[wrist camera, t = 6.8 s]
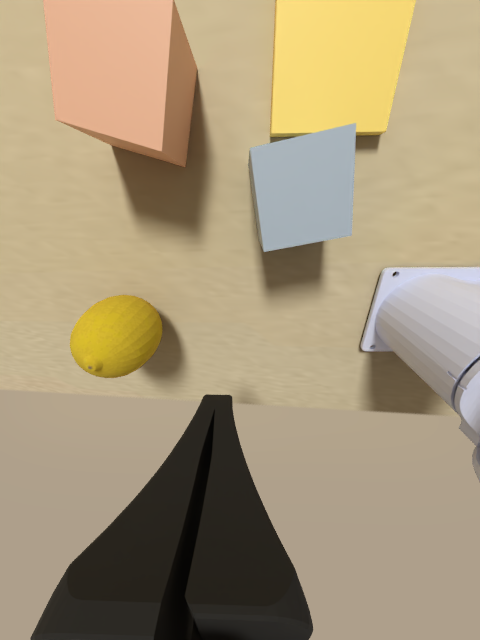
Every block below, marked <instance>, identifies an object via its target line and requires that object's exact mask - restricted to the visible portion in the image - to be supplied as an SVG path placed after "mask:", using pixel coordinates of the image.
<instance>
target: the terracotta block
mask: <svg viewBox="0 0 480 640" xmlns="http://www.w3.org/2000/svg"><path fill="white" fill-rule="evenodd" d="M43 2H44V12H45V22H46V32H47V42H48V52H49V62H50V72H51V82H52V92H53V102H54V111H55V120H57V121H60V122H62V123H64V124H66V125H68V126H70V127H73V128H75V129H77V130H79V131H81V132H84V133H86V134H88V135H90V136H92V137H94V138H97V139H99V140H101V141H103V142H105V143H108V144H110V145H112V146H115V147H119V148H122V149H126V150H129V151H132V152H136V153H139V154H142V155H146V156H149V157H152V158H156V159H159V160H163V161H166V162H169V163H173V164H176V165H179V166H183V167H186V160H187V151H188V143H189V134H190V126H191V117H192V109H193V100H194V92H195V83H196V74H197V66H196V63H195V60H194V57H193V54H192V52H191V49H190V46H189V43H188V40H187V37H186V34H185V31H184V28H183V25H182V22H181V20H180V17H179V14H178V11H177V8H176V5H175V2H174V0H43Z"/></svg>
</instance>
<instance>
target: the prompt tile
mask: <svg viewBox="0 0 480 640" xmlns="http://www.w3.org/2000/svg"><path fill="white" fill-rule="evenodd" d="M415 2H416V0H276V2H275V26H274V51H273V75H272V99H271V124H270V137H298V136H303V135H307V134H311V133H315V132H320V131H324V130H328V129H332V128H336V127H341V126H345V125H349V124H353V123H356V136H359V135H380V134H382V133H384V132H386V129H387V124H388V120H389V116H390V111H391V107H392V102H393V98H394V94H395V89H396V85H397V80H398V76H399V72H400V67H401V63H402V59H403V54H404V50H405V45H406V41H407V37H408V32H409V28H410V24H411V19H412V15H413V10H414V6H415Z"/></svg>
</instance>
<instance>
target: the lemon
mask: <svg viewBox="0 0 480 640" xmlns="http://www.w3.org/2000/svg"><path fill="white" fill-rule="evenodd" d="M161 336H162V322H161V319H160V316H159V314H158V312H157V311H156V309H155V308H154V307H153V306H152V305H151V304H150V303H148V302H147V301H145V300H143V299H141V298H138V297H135V296H129V295H119V296H113V297H109V298H107V299H104V300H102V301H100V302H98V303H96V304H94V305H93V306H92V307H91V308H90V309H88V310H87V311H86V312H85V313H84V314H83V315H82V316H81V317H80V319H79V320H78V321H77V323H76V325H75V327H74V329H73V331H72V334H71V339H70V348H71V353H72V356H73V357H74V359H75V361H76V363H77V364H78V365H79V366H80V367H81V368H82V369H83V370H85V371H86V372H88V373H90V374H92V375H95V376H98V377H104V378H116V377H121V376H125V375H128V374H129V373H131V372H133V371H135V370H137V369H138V368H140V367H141V366H142V365H143V364H145V363H146V362H147V361H148V360H149V359H150V358H151V356H152V355H153V354H154V353H155V351H156V349H157V347H158V345H159V343H160V341H161Z"/></svg>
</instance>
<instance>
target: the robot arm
mask: <svg viewBox="0 0 480 640" xmlns="http://www.w3.org/2000/svg"><path fill="white" fill-rule="evenodd" d="M394 272H396V275H395V276H392V275H393V273H394ZM372 345H373V346H372ZM370 346H372V347H370ZM360 347H361V349H362V350H363V351H394V352H395V353H396V354H397V355H398V356H399V357H400V358H401V359H402V360H403V361H404V362H405V363H406V364H407V365H408V366H409V367H410V368H411V369H412V370H413V371H414V372H415V373H416V374H417V375H418V376H419V377H420V378H421V379H423V380H424V381H425V382H426V383H427V384H428V385H429V386H430V387H431V388H432V389H433V390H434V391H435V392H436V393H437V394H438V395H439V396H440V397H441V398H442V399H443V400H444V401H445V402H446V403H447V404H448V405H449V406H450V407H451V408H452V409H453V410H454V411H455V412H457V413H458V414H459V416H460V417H461V424H460V427H459V429H460V430H461V431H462V432H463V433H464V434H465V435H466V436H467V437H468V438H469V439H470V440H471V441H472V442H473V443H474V444H475V445H476V447H475V449H474V451H473V455H472V460H473V467H474V470H475V473H476V475H477V477H478V479H479V481H480V267H389V268H385V269H384V270H383V271H382V272H381V275H380V278H379V282H378V285H377V289H376V292H375V296H374V299H373V303H372V306H371V310H370V313H369V317H368V320H367V324H366V327H365V331H364V334H363V338H362V341H361V345H360ZM312 632H313V624H312V619H311V616H310V611H309V608H308V604H307V602H306V598H305V596H304V593H303V590H302V587H301V585H300V582H299V579H298V576H297V573H296V571H295V568H294V566H293V564H292V562H291V560H290V558H289V557H288V555H287V553H286V551H285V549H284V547H283V545H282V543H281V541H280V539H279V537H278V535H277V533H276V531H275V529H274V527H273V525H272V523H271V521H270V519H269V517H268V514H267V512H266V510H265V508H264V506H263V503H262V501H261V499H260V496H259V494H258V492H257V490H256V487H255V485H254V482H253V480H252V477H251V475H250V472H249V469H248V467H247V464H246V461H245V458H244V455H243V452H242V448H241V445H240V442H239V438H238V434H237V431H236V427H235V422H234V416H233V410H232V396H230V395H205V396H204V397H203V399H202V401H201V403H200V406H199V408H198V410H197V411H196V414H195V415H194V417H193V419H192V420H191V422H190V424H189V426H188V427H187V429H186V430H185V432H184V434H183V435H182V437H181V438H180V440H179V441H178V443H177V444H176V446H175V447H174V449H173V450H172V452H171V453H170V455H169V456H168V457H167V459H166V460H165V461H164V463H163V464H162V466H161V467H160V468H159V469H158V471H157V472H156V473H155V475H154V476H153V477H152V478H151V479H150V481H149V482H148V483H147V484H146V485H145V487H144V488H143V489H142V490H141V492H140V493H139V494H138V495H137V496H136V497H135V498H134V500H133V501H132V502H131V503H130V504H129V505H128V506H127V507H126V508H125V509H124V510H123V511H122V513H121V514H120V515H119V516H118V517H117V518H116V519H115V520H114V521H113V522H112V523H111V524H110V526H108V528H107V529H106V530H105V531H104V532H103V533H102V534H101V535H100V536H99V537H97V538H96V539H95V540H94V542H93V543H91V544H90V545H89V546H88V547H87V548H86V549H85V550H84V551H83V552H82V553H81V554H80V555H79V556H78V557H77V558H76V559H75V560H74V561H73V562H72V563H71V564H70V565H69V567H68V569H67V570H66V572H65V574H64V575H63V577H62V579H61V580H60V582H59V584H58V585H57V587H56V589H55V591H54V592H53V594H52V596H51V598H50V600H49V602H48V604H47V606H46V608H45V610H44V612H43V614H42V616H41V618H40V620H39V622H38V624H37V626H36V628H35V630H34V632H33V634H32V636H31V640H309V638H310V636H311V634H312Z"/></svg>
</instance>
